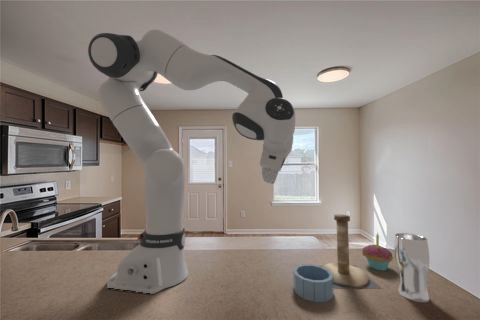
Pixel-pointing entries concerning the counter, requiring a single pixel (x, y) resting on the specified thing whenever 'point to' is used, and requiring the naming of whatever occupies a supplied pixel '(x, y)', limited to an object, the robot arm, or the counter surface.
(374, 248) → the cupcake
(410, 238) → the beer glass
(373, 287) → the mat
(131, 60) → the robot arm
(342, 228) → the brown piece
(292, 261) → the counter surface
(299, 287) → the bowl
